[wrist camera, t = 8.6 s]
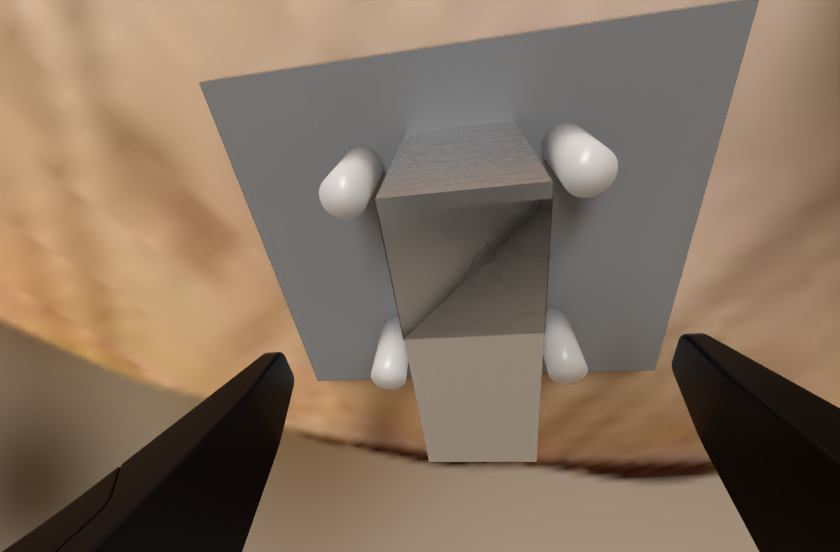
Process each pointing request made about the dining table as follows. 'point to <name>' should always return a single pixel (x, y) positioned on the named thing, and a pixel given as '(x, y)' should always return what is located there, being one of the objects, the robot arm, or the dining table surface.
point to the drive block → (471, 285)
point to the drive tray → (549, 139)
